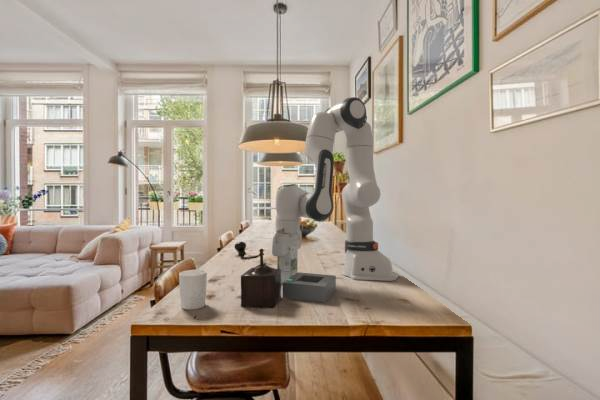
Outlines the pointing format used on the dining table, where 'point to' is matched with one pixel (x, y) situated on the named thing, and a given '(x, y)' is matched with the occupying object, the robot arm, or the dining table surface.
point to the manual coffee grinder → (259, 282)
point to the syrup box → (289, 263)
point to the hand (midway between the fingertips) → (287, 264)
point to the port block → (309, 287)
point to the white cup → (192, 288)
